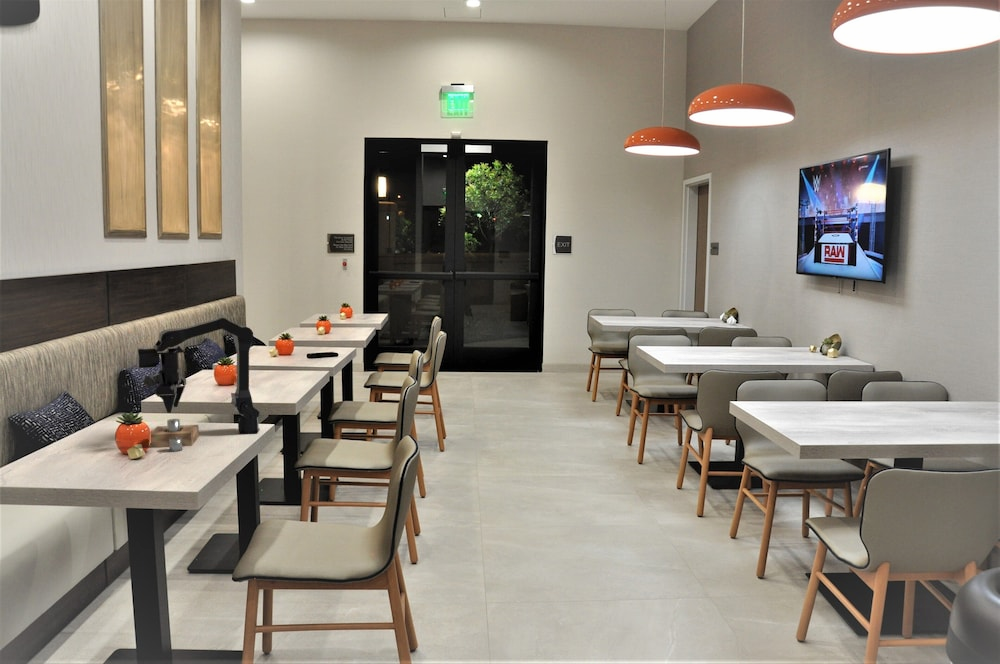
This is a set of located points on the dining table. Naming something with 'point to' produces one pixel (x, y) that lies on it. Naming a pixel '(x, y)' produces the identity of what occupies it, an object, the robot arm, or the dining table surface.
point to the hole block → (174, 435)
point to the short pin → (175, 444)
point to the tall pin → (173, 425)
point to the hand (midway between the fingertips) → (172, 409)
